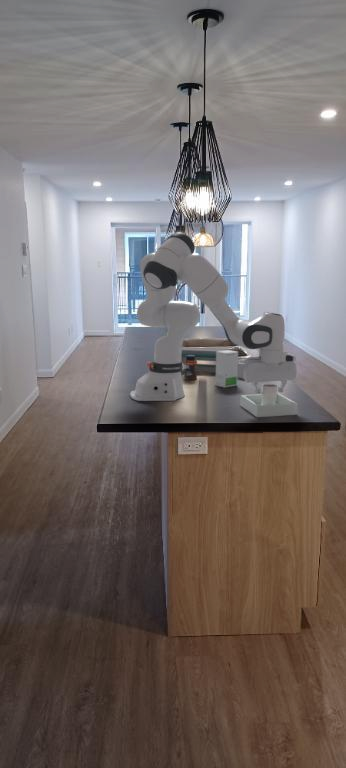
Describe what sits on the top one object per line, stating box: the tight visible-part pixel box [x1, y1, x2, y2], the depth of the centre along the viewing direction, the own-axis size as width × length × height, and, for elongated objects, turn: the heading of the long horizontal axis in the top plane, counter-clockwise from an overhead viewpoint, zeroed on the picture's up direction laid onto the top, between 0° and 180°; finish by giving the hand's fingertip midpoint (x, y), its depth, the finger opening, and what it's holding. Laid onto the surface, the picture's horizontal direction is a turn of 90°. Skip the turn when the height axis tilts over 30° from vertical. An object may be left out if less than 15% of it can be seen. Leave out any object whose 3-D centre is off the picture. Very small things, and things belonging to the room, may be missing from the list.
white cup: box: [260, 383, 278, 405], centre depth 199 cm, size 6×6×9 cm
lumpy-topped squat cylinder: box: [237, 357, 248, 379], centre depth 256 cm, size 10×13×9 cm
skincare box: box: [214, 349, 239, 388], centre depth 237 cm, size 8×7×16 cm
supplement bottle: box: [183, 355, 198, 381], centre depth 249 cm, size 6×6×11 cm
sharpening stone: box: [181, 346, 231, 374], centre depth 268 cm, size 25×8×11 cm, turn 80°
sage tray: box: [239, 392, 299, 418], centre depth 200 cm, size 16×16×4 cm
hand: (268, 392), depth 199 cm, fingers open, 8 cm apart
